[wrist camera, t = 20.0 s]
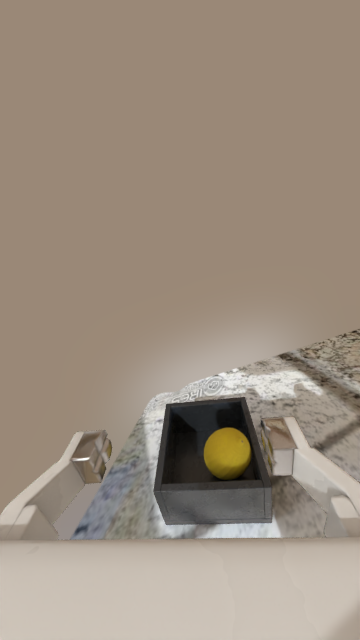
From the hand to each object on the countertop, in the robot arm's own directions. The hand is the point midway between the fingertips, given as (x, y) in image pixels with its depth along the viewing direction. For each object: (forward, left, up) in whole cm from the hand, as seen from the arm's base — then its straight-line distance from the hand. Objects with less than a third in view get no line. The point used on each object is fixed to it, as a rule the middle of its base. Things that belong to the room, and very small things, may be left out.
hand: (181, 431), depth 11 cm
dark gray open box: (0, +12, -23) cm, 26 cm away
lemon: (0, +12, -22) cm, 25 cm away
